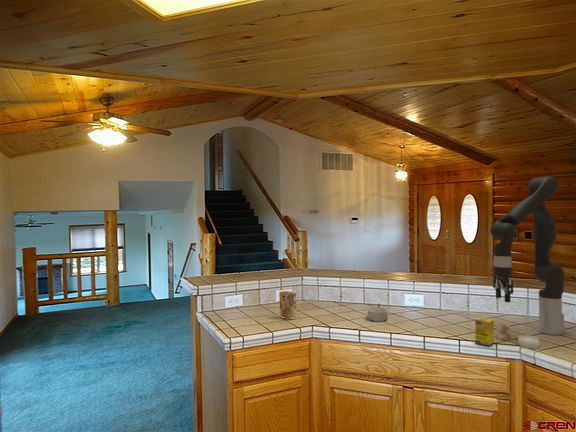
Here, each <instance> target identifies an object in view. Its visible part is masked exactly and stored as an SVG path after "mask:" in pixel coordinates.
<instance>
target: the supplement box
mask: <svg viewBox="0 0 576 432" xmlns="http://www.w3.org/2000/svg"><path fill="white" fill-rule="evenodd" d="M494 323H495V322H494V319H490V318H484V317H478V318H476V319H475V323H474V324H475V325H474V328H475V329H474V330H475V331H474V333H475V345H480V346H485V347H488V348H490V347H491V346H492V345H494V343H495V342H494V341H495V339H494V338H495V337H494V332H495V331H494V329H495V328H494V327H495V326H494V325H495V324H494Z"/></svg>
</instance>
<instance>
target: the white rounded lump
mask: <svg viewBox="0 0 576 432" xmlns="http://www.w3.org/2000/svg"><path fill="white" fill-rule="evenodd" d="M517 345H518V346H520V347H521V348H525V349H529V350H530V349H532V350H535V349H536V350H537V349H539V348H540V338H539V337H537V336H533V335H529V334H528V335H527V334H526V335H525V334H521V335H518V336H517Z"/></svg>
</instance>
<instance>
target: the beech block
mask: <svg viewBox="0 0 576 432" xmlns="http://www.w3.org/2000/svg"><path fill="white" fill-rule="evenodd" d="M511 332H512V328H511V326H510V325H508V324H507V323H495V337H496V338H497V339H499V340H501V339H511V340H512V338H511V337H512V333H511Z"/></svg>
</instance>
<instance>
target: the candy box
mask: <svg viewBox="0 0 576 432" xmlns="http://www.w3.org/2000/svg"><path fill="white" fill-rule="evenodd" d="M297 313H298V312H297V291H289V290H288V291H287V290H281V291H279V318H280V317H285V318H295V317H297Z"/></svg>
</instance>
